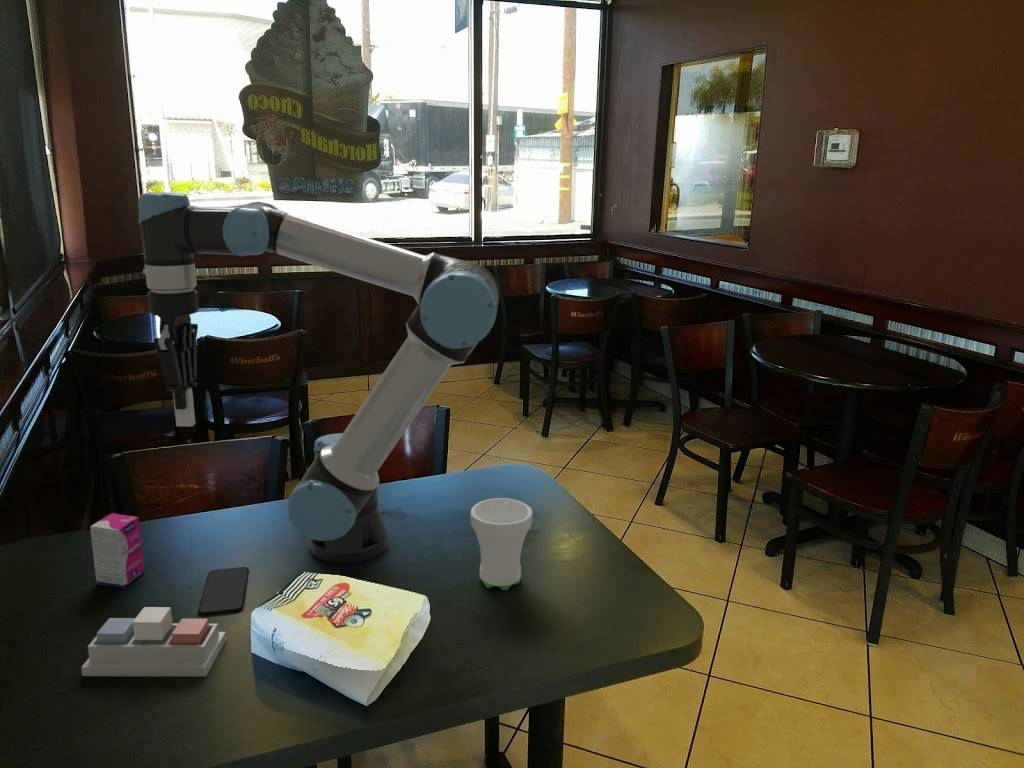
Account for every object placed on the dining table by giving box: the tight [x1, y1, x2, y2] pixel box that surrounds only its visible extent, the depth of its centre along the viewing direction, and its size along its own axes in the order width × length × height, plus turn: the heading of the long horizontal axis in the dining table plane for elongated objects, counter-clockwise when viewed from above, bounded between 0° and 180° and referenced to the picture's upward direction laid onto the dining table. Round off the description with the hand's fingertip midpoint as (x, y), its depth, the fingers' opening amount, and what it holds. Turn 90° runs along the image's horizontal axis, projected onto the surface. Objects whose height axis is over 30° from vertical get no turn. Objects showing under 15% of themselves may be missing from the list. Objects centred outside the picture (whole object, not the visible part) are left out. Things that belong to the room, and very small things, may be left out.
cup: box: [470, 497, 533, 591], centre depth 139 cm, size 11×11×14 cm
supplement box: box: [89, 512, 145, 589], centre depth 137 cm, size 6×6×12 cm
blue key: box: [96, 617, 136, 645], centre depth 115 cm, size 4×4×3 cm
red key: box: [172, 618, 210, 645], centre depth 116 cm, size 4×4×3 cm
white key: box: [133, 606, 173, 640], centre depth 115 cm, size 4×4×3 cm
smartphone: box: [197, 566, 250, 617], centre depth 135 cm, size 7×1×15 cm
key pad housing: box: [80, 622, 227, 678], centre depth 116 cm, size 18×9×4 cm, turn 92°
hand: (185, 424), depth 131 cm, fingers closed
